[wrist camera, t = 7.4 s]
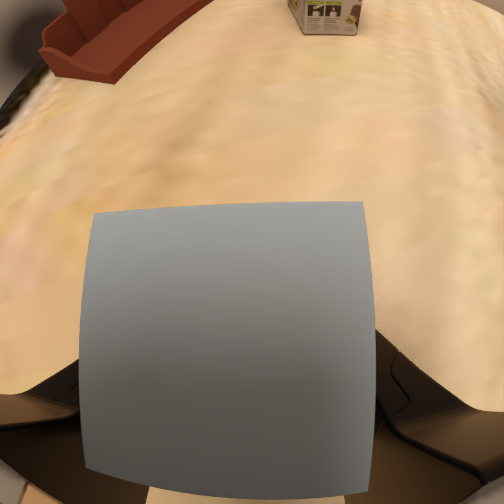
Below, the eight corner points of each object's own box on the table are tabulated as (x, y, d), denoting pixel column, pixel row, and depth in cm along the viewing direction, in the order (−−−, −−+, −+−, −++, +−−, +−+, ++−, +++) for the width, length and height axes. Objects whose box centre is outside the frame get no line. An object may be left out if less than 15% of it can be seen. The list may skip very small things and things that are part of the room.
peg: (301, 384, 14) (368, 491, 3) (223, 384, 15) (85, 467, 3) (301, 307, 15) (362, 201, 4) (223, 308, 16) (94, 213, 4)
